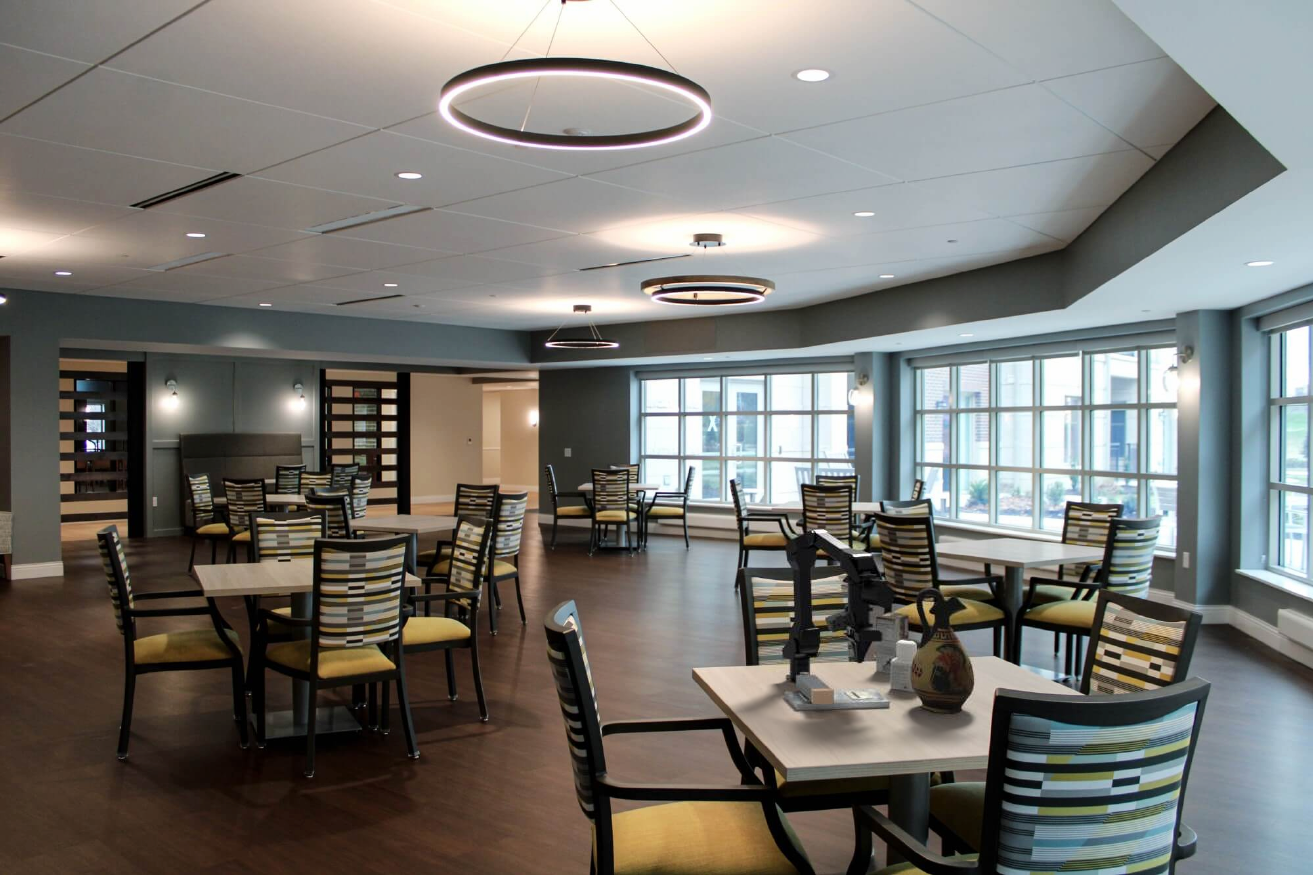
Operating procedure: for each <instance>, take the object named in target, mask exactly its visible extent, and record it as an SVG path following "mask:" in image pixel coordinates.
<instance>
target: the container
mask: <svg viewBox="0 0 1313 875" xmlns="http://www.w3.org/2000/svg"><path fill="white" fill-rule="evenodd" d="M920 642H921V641H919V640H916V639H913V638H909V639H900V640H898V641H897V642H896V656H897V657H896V658H894V659H893V660H891V674H890V689H891V690H897V691H905V692H913V693H915V692H914V690H913V688H912V685H911V680H910V672H911V665H912V662H913V658H914V656H915V654H916V652H917V650H918V648H919V646H920Z"/></svg>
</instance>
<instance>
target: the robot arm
mask: <svg viewBox="0 0 1313 875" xmlns="http://www.w3.org/2000/svg"><path fill="white" fill-rule="evenodd" d="M819 551H822V552H823V553H826V554H827V555H828V556H830V557H831V558H832V559H834V560H835V561H837V562H838V563H839V567H840V569H841V570H842V571H843V572H844V573H845V574H846V576H845V577H844V578H843V579H842V582H843V583H845V584H847V604H845V605H844V606H843V608H844V609H843V611H839V612H836V613H833V614H831V615H829V616H827V617H825V623H826V625H827V628H828V630H829V631H831V632H832V633H837V632H839V631H840V630H843V629H846V632H843V635H844V636H845V637H846V638H847V639H848V640H849V641H850V646H851V648H852V652H853V655H854V659H855V663H857V664H863V661H864V659H865V657H866V655H867V653H868V652H869V649H870V647H871V645H872V644H873V642H880V641H882V639H883V634H882V633H881V632H880V631H879V630H878V629H876V627H874V623H872V622H871V612H873V611H874V607H877V608H882V609H888V608H889V607H891V606H892V604H893V602H894V601H895V593H894V590H893V588H892V587H891V586H890V585H889V581H888V580H885V579H884V578H883V577H882V573H881V571H880V569H879V567H878V565H877V563H876V562H875V559H874V556H873V555H872V554H871V553H869V552H866V551H864V550H861V549H856V548H852V547H850V546H848V545H846V543H844V542H842V541H840V540H839V539H838V538H836V537H835V536H833V535H831V534H830V533H829V532H828V531H827V530H825V529H819V528H817V529H810V530H808V531H807V532H806V533H803V534H801V535H798V536H796V537H793V538H790V539H789V540H788V541H787V542H786V543H785V553H786V562H788V564H789V566H790V567H791V569H792V580H793V582H792V583H793V584H792V585H793V609H794V612H793V614H794V615H793V616H794V621H793V623H792V626H791V627H790V629H789V631H788V640H787V642H786V643H785V645H784V646H783V647H782V648H781V652H782V658H785V659H788V660H789V674H786V675H785V677H786V678H787V679H788V680H789V681H790V682H791V683H796V675H800V672H808V673H809V675H811V659H813V658H817V657H818V654H819V649H820V646H821V645H820V644H821V643H822V641H821V640H822V639H821V629H820V628H819V627H818V628H817V626H816V625H815V623H814V621H813V598H812V595H813V594H812V593H813V592H812V568H813V567H814V565H815V562H816V561H817V554H818V552H819ZM873 606H874V607H873Z"/></svg>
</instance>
